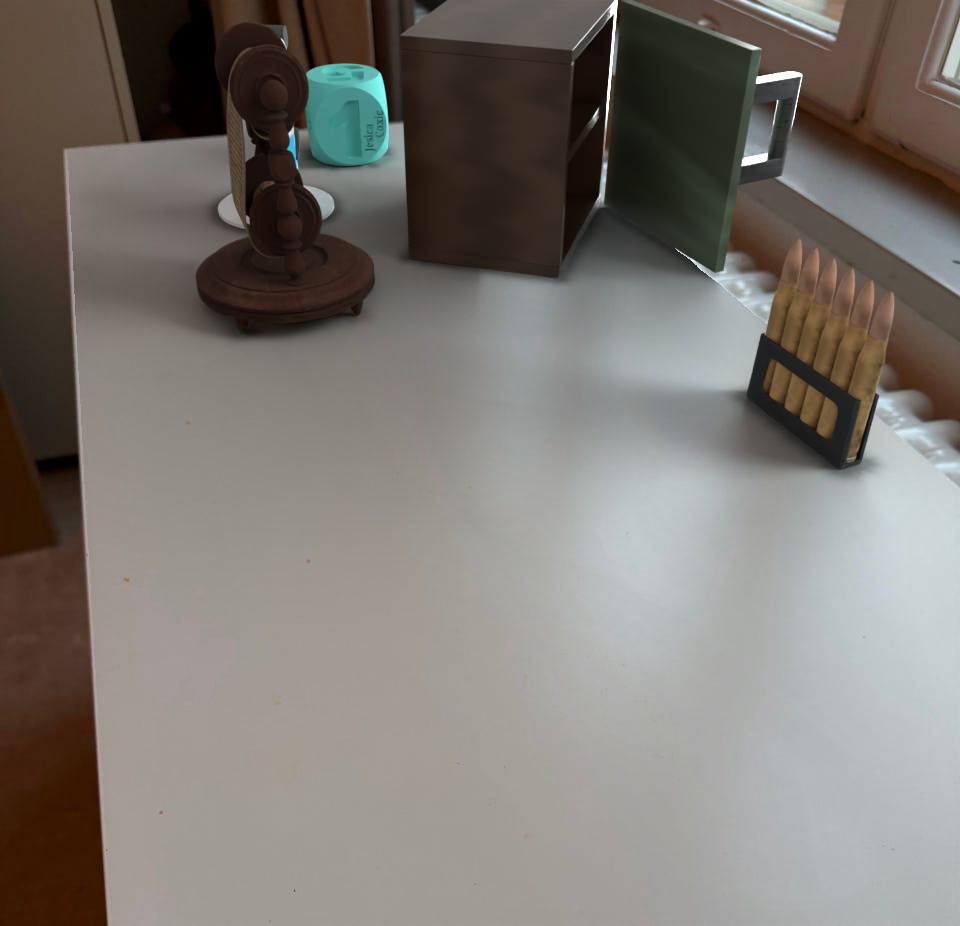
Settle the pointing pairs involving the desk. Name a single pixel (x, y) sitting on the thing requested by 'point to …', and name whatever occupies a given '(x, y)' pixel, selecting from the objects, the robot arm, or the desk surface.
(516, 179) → the cupboard
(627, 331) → the desk surface
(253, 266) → the dark brown piece
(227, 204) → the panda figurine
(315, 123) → the decorative dice
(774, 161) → the cupboard door
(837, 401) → the ammunition clip
